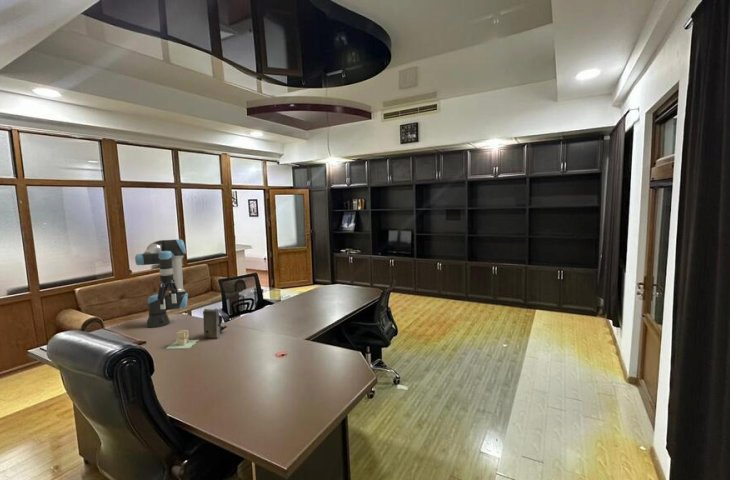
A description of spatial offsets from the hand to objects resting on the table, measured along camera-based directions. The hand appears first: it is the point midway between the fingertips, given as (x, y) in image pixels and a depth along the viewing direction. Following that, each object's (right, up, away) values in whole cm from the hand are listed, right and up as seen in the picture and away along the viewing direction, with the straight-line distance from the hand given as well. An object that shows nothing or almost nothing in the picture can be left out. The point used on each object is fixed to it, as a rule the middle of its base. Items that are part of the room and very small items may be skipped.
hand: (168, 306), depth 227 cm
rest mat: (+14, -23, -9) cm, 28 cm away
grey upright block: (+28, -22, +8) cm, 36 cm away
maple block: (+14, -22, -9) cm, 28 cm away
